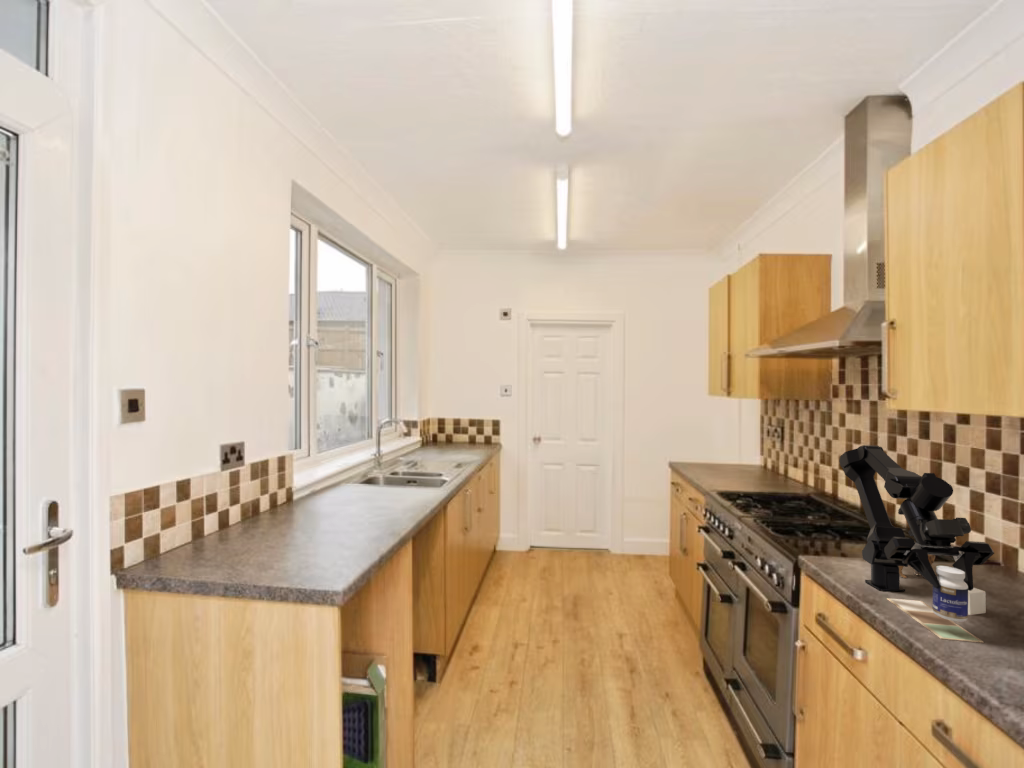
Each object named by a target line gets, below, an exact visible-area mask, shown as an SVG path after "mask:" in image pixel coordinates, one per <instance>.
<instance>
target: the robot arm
mask: <svg viewBox="0 0 1024 768" xmlns="http://www.w3.org/2000/svg"><path fill="white" fill-rule="evenodd" d="M839 466H840V467H841V469H842V470H843V473H844V475H845V476H846V477H847V478H849V480H851V481H852V482H853V483H854V485H855V487H856V491H857V494H858V496H859V499H860V502H861V504H862V509H863V511H864V515H865V517H866V520H867V523H868V526H869V528H870V530H869V532H868V535H867V538H866V541H867V543H866V544H865V546H864V547H863V548H862V550H861V554H862V555H861V556H862V559H863V560H864V561H865V562H867V563H868V564H870V579H864V582H865V583H866V584H868V585H869V586H872V587H873V588H875V589H877V590H879V591H886V592H887V591H889V592H906V589H905V587H903V586H900V584H901V583H900V579H901V578H900V577H901V576H900V574H899V567H898V566H904V567H906V568H907V567H910V566H911V567H910V568H912V569H913V570H914V569H915V570H916V571H917V572H918V573H919V574H920V575H921V576H922V578H923V577H924V579H925V580H926V581H928V583H930V584H931V586H932V587H933V586H934V587H935V588H939V587H940V584H939V581H938V579H937V577H936V576H937V575H936V571H935V570H934V568H933V566H932V565H931V564H930V562H929V560H928V554H930V555H935V556H945V557H946V556H949V557H950V556H951V557H952V558H953V559H954V561H955V562H954V563H953V564H952V565H951V567H953V568H957V569H960V570H962V571H964V572H965V579H964V582H965V583H966V584H967V585H968V590H969V591H971V590H973V588H974V575H973V566H982V565H984V564H985V562H987V561H988V560H989V559H990V558H991V557H992V556H993V555H995V551H994V550H993V548H992V547H991V545H990V543H988V542H985V541H973V540H972V541H970V540H966V541H965V542H964V543H963V544H962V545H961V546H952V545H951V544H955V542H957V539H956V538H957V537H958V538H959V537H964V536H965V535H966V534H970V533H971V532H972V528H971V524H970V522H968V519H967V518H966V517H956V518H952V519H945V518H943V519H941V518H940V519H939V518H938V517H937V514H936V513H935V512H937V511H939V510H941V508H942V507H943V506H944V505H945V504H946V502H947V501H948V500H949V499H950V498H951V496H952V495H953V494H954V488H953V486H952V485H951V483H949V482H948V481H946V480H944V479H943V478H942V477H938V476H937V475H936V474H935V473H934V472H924V473H923V474H922V475H920V474H918V473H916V472H914V471H911V470H908V469H907V470H906V469H904V468H903V467H901V466H900V464H898V463H897V462H896V461H895V460H893V459H892V457H890V456H889V455H888V454H887V452H885V451H884V448H883V447H882V446H880V445H869V444H868V445H867V444H866V445H865V444H863V445H860V446H858V447H856V448H854V449H850V450H848V451H845V452H844V453H842V455H840V456H839ZM876 473H877V474H878V475H879V476H880V477H881V478H882V480H883V482H884V489H885V491H886V492H887V494H888V495H889V496H890V497H891V498H892V499H899V500H900V499H901V500H903V501H902V502H901V503H900V507H899V508H898V512H897V513H898V515H900V516H901V515H903V516H904V519H906V522H907V525H908V527H909V530H908V531H907V532H908V535H909V536H910V537H906V536H905V531H904V530H903V528H901V527H895V526H894V525H892V523H891V520H890V517H889V514H888V511H887V510H886V505H885V503H884V501H883V499H882V496H881V493H880V490H879V488H878V485H877V483H876V480H875V475H876ZM911 537H913V538H911ZM908 565H909V566H908Z"/></svg>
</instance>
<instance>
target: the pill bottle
mask: <svg viewBox="0 0 1024 768" xmlns="http://www.w3.org/2000/svg"><path fill="white" fill-rule="evenodd" d="M935 574H937V575H936V577H937V579H938V581H939V584H940V587H939V588H935V587H934V586H933V585H932V606H931V607H932V610H933V612H934V614H936V615H937V616H939V617H942V618H944V619H948V620H951V621H953V622H967V621H968V618H969V614H968V585H967V584H966V583H965V582H964V579H965V572H964V571H962V570H960V569H957V568H954V567H953V566H948V565H937V566H935Z"/></svg>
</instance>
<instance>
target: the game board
mask: <svg viewBox="0 0 1024 768" xmlns="http://www.w3.org/2000/svg"><path fill="white" fill-rule="evenodd" d="M886 600H888V601H889V602H890V603H892V604H893V605H894V606H896V607H897V608H898V609H899V610H900V611H902V612H904V613H905V614H907V616H909V617H911V618H912V619H913V620H914V621H916V622H917V623H918V624H920V625H921V626H923V627H924V628H925V629H927V630H928V631H929V632H931V633H932V634H933V635H935V636H936V637H938V638H939V639H940V640H949V641H960V642H961V641H962V642H969V643H981V644H984V640H982V639H980V638H978V637H977V636H976V635H975V634H972V633H971V632H969V631H968V630H966V629H965V628H963V627H962V626H961V625H959V624H957V623H956V622H955V621H952V620H948V619H944V618H942V617H939V616H937V615H936V614H934V612H933V610H932V606H930V605H929V604H928V603H925V602H924V601H923V600H913V599H904V598H903V599H900V598H889V597H888V598H886Z"/></svg>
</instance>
